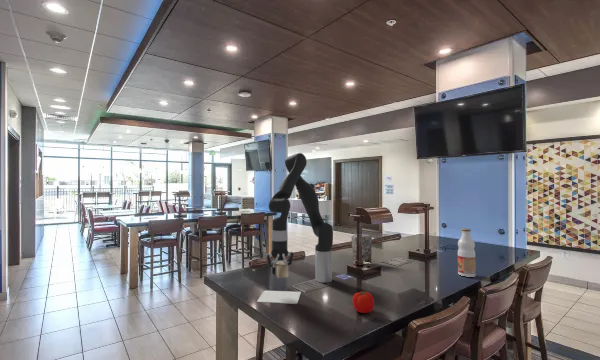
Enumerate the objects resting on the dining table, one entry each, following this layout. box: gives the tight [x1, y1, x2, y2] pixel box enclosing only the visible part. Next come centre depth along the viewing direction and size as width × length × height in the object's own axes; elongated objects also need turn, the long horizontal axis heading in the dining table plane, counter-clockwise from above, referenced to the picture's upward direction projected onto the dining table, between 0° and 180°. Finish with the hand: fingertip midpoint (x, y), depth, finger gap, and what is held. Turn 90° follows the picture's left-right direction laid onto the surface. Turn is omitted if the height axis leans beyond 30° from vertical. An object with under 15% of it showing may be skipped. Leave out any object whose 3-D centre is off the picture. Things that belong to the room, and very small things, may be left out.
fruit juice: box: [457, 228, 477, 278], centre depth 183 cm, size 9×9×28 cm
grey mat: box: [256, 290, 302, 305], centre depth 149 cm, size 19×15×1 cm
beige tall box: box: [271, 260, 289, 279], centre depth 149 cm, size 5×5×12 cm
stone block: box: [351, 234, 373, 264], centre depth 212 cm, size 13×7×20 cm, turn 116°
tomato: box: [352, 289, 375, 314], centre depth 131 cm, size 9×10×8 cm
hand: (279, 274), depth 149 cm, fingers closed on beige tall box, 5 cm apart
